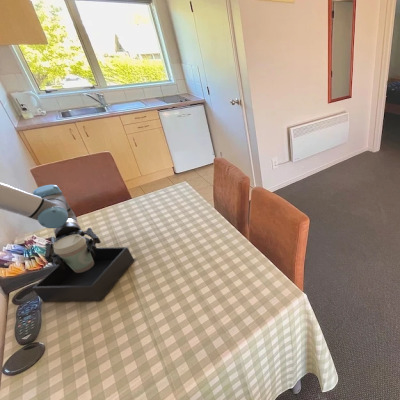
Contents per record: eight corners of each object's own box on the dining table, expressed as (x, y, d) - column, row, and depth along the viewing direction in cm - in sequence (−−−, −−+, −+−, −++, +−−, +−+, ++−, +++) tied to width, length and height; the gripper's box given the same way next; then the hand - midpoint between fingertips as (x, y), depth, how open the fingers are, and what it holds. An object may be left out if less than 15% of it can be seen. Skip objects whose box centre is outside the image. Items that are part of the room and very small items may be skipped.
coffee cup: (87, 275, 92) (69, 249, 86) (63, 275, 92) (43, 249, 86) (104, 258, 100) (89, 233, 93) (82, 258, 100) (65, 233, 93)
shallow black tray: (43, 301, 91) (31, 288, 87) (85, 261, 108) (77, 247, 104) (100, 300, 91) (91, 286, 87) (134, 260, 108) (127, 247, 104)
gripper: (103, 227, 111) (117, 253, 98) (38, 251, 99) (43, 285, 85) (95, 212, 108) (108, 237, 94) (26, 235, 95) (30, 268, 81)
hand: (77, 260), depth 90 cm, fingers closed on coffee cup, 8 cm apart
